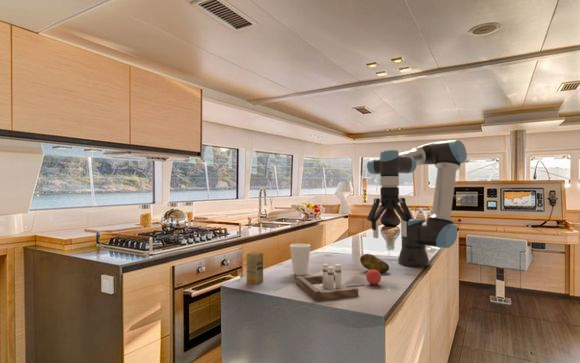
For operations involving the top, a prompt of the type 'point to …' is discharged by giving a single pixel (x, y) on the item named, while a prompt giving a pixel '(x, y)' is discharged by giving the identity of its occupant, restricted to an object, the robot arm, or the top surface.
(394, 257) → the top surface
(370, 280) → the ball
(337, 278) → the front pin
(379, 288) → the top surface
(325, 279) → the pin
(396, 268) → the top surface
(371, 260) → the potato
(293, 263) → the foam cup
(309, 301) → the top surface
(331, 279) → the pin
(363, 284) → the thin gray bar
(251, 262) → the shoe polish box
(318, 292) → the rail
